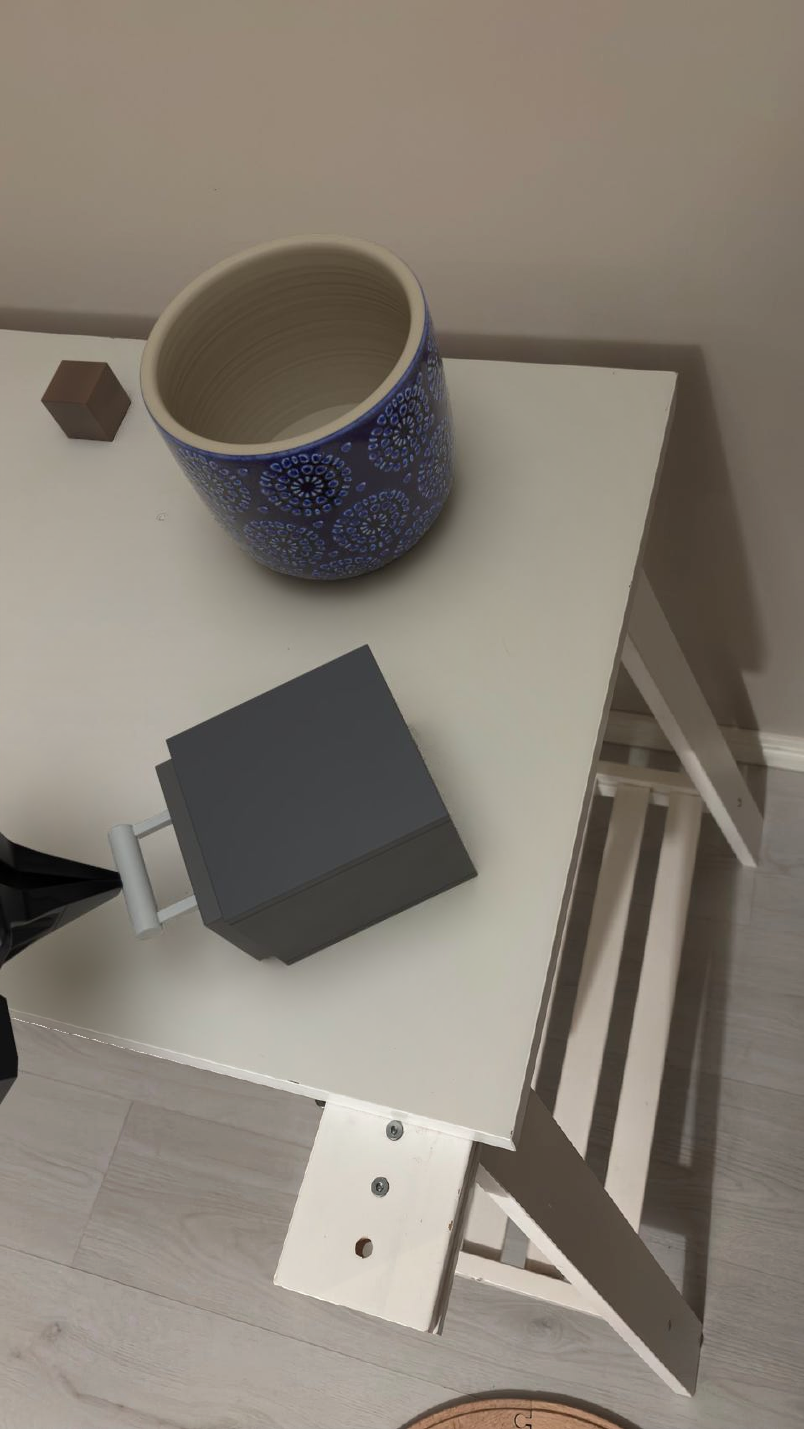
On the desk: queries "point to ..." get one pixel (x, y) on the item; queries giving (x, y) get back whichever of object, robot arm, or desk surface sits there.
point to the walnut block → (86, 400)
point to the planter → (307, 403)
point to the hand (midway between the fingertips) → (119, 883)
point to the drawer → (204, 898)
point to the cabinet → (316, 810)
